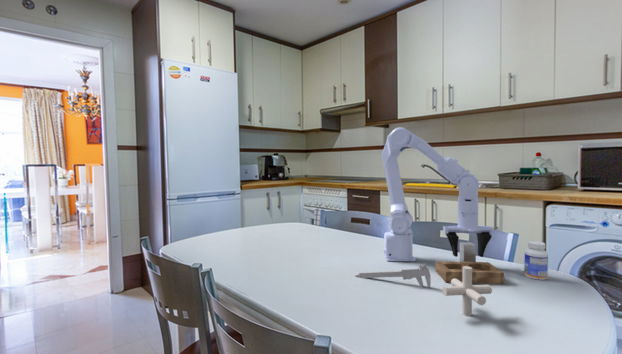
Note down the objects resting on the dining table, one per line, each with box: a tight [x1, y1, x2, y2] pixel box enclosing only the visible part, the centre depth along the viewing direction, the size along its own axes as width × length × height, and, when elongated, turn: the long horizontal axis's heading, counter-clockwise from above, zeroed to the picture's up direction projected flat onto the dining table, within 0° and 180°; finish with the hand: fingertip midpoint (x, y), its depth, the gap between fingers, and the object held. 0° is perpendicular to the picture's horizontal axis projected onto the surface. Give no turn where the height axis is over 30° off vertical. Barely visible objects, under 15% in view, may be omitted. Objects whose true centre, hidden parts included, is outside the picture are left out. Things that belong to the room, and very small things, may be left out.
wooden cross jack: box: [441, 266, 493, 317], centre depth 67 cm, size 10×10×10 cm
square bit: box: [459, 241, 477, 262], centre depth 99 cm, size 4×4×7 cm
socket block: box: [435, 260, 505, 285], centre depth 89 cm, size 15×9×3 cm, turn 85°
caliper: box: [354, 263, 432, 289], centre depth 86 cm, size 20×1×6 cm, turn 63°
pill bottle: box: [523, 240, 549, 281], centre depth 88 cm, size 5×5×10 cm
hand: (467, 255), depth 99 cm, fingers open, 7 cm apart
